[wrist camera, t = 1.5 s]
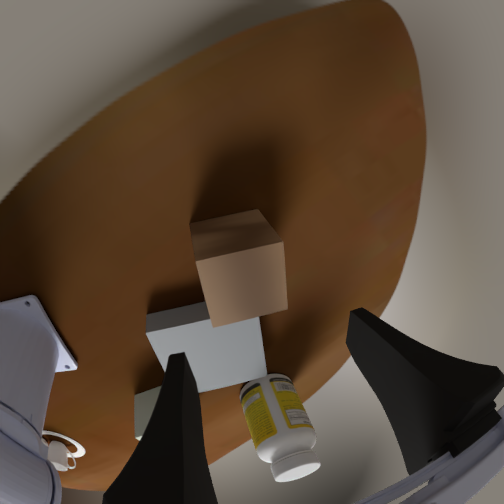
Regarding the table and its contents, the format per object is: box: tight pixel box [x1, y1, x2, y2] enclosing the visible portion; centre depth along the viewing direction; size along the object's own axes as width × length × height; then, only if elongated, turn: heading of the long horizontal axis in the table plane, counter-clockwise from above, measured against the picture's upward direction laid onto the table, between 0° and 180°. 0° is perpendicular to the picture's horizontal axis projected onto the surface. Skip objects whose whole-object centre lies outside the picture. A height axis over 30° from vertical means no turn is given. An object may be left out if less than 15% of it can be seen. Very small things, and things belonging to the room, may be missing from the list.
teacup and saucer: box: [41, 430, 85, 471], centre depth 26 cm, size 9×8×4 cm
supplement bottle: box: [240, 374, 320, 482], centre depth 25 cm, size 6×6×10 cm
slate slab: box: [146, 301, 267, 393], centre depth 23 cm, size 8×8×2 cm
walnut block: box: [189, 209, 288, 328], centre depth 18 cm, size 4×4×5 cm
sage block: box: [135, 386, 161, 441], centre depth 24 cm, size 4×4×5 cm
